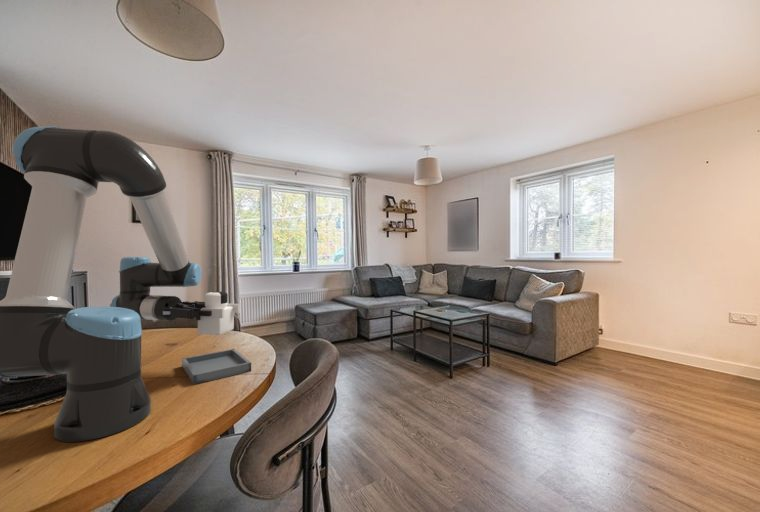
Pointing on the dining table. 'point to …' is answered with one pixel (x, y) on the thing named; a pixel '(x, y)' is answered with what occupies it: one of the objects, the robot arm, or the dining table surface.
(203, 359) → the tray
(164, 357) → the dining table surface
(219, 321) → the medicine bottle
